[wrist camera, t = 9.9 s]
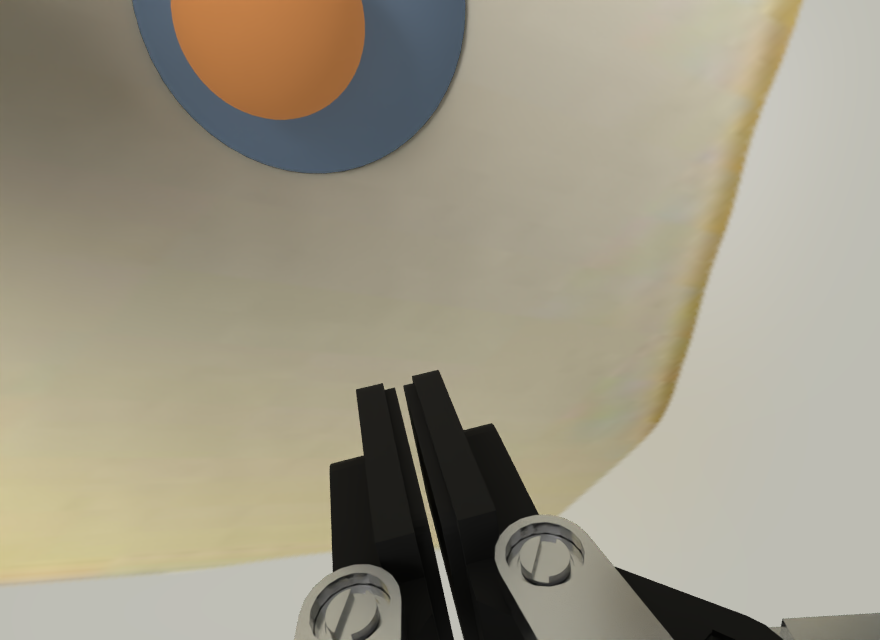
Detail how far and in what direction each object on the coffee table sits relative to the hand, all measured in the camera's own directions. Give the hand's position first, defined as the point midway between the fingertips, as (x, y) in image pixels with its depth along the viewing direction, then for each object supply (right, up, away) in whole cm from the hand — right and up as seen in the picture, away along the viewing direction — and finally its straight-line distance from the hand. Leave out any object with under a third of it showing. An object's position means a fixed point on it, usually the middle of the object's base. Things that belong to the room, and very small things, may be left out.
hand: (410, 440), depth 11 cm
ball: (-5, +12, +7) cm, 15 cm away
